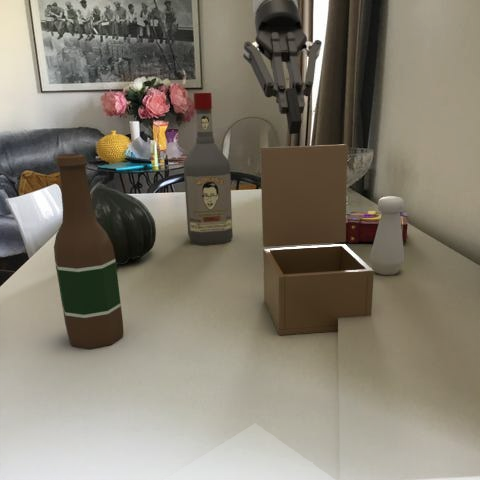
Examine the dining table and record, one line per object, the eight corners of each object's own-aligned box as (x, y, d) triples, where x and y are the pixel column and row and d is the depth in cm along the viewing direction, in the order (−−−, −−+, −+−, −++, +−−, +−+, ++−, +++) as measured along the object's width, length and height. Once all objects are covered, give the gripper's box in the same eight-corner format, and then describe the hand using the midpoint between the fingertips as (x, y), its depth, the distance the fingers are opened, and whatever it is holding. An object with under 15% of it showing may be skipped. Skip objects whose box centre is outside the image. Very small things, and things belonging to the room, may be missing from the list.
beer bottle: (119, 348, 73) (95, 157, 64) (59, 350, 73) (26, 160, 64) (129, 325, 80) (109, 150, 71) (75, 327, 81) (48, 152, 71)
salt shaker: (387, 278, 96) (393, 202, 91) (362, 271, 100) (366, 197, 95) (410, 271, 99) (416, 197, 94) (384, 264, 104) (389, 193, 99)
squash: (179, 232, 109) (140, 168, 111) (114, 251, 99) (72, 182, 101) (151, 268, 119) (115, 210, 121) (90, 289, 110) (52, 226, 112)
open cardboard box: (370, 328, 77) (374, 270, 74) (279, 335, 76) (278, 276, 73) (342, 295, 89) (345, 244, 86) (264, 300, 88) (263, 248, 85)
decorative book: (406, 245, 115) (408, 221, 113) (327, 243, 119) (327, 219, 117) (405, 232, 125) (407, 209, 123) (332, 230, 129) (332, 208, 127)
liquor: (187, 236, 128) (178, 93, 116) (227, 233, 129) (221, 92, 118) (191, 246, 120) (181, 93, 108) (234, 243, 121) (228, 92, 110)
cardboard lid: (347, 144, 81) (346, 144, 82) (260, 147, 80) (260, 147, 81) (345, 242, 86) (344, 241, 86) (263, 246, 85) (262, 246, 85)
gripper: (311, 34, 99) (332, 142, 90) (236, 36, 98) (251, 145, 89) (318, -5, 92) (343, 108, 83) (239, -4, 91) (255, 111, 82)
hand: (295, 127), depth 86 cm, fingers closed
